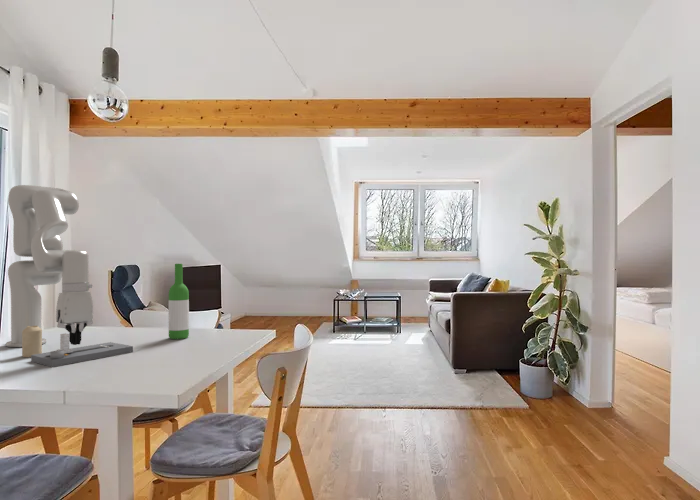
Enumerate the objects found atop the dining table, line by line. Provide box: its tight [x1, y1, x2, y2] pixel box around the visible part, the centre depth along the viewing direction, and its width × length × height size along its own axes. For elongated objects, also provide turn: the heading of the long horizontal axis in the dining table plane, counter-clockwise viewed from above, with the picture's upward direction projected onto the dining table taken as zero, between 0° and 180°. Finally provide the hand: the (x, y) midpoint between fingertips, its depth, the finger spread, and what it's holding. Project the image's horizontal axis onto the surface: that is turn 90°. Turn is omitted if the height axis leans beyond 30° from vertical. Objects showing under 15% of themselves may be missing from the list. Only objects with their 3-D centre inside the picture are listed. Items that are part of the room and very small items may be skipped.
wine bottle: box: [168, 263, 190, 340], centre depth 193 cm, size 8×8×30 cm
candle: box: [21, 326, 43, 358], centre depth 160 cm, size 6×6×10 cm
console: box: [30, 341, 134, 368], centre depth 159 cm, size 14×26×4 cm, turn 146°
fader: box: [57, 332, 73, 354], centre depth 154 cm, size 4×3×6 cm
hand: (75, 344), depth 156 cm, fingers closed
